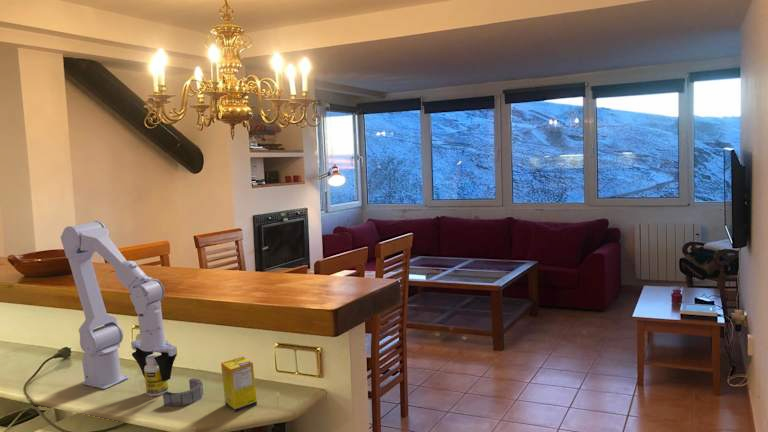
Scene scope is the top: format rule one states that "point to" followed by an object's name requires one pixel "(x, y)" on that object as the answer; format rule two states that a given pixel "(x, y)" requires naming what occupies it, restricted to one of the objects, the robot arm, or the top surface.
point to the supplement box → (239, 383)
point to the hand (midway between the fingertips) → (157, 378)
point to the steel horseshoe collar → (185, 395)
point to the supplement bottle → (154, 377)
